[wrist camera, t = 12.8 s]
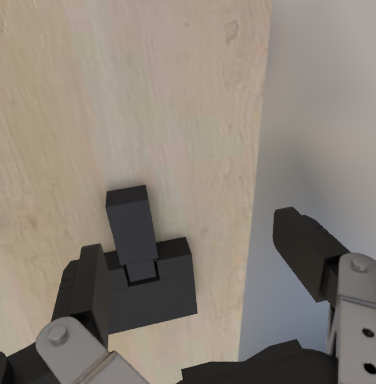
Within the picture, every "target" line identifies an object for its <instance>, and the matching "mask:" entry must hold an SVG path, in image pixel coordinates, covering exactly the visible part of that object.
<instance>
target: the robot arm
mask: <svg viewBox="0 0 376 384" xmlns="http://www.w3.org/2000/svg"><path fill="white" fill-rule="evenodd" d="M273 242H274V245H275V247H276V249H277V251H278V252H279V253H280V255H281V256H282V257H283V259H284V260H285V261H286V263H287V264H288V265H289V267H290V268H291V269H292V271H293V272H294V273H295V274H296V276H297V277H298V279H299V280H300V281H301V282H302V284H303V285H304V287H305V288H306V289H307V291H308V292H309V293H310V294H311V296H312V297H313V298H314V300H315V301H316V303H317V302H321V301H325V300H327V301H328V302H329V303H330V307H329V316H328V332H327V347H326V353H323V352H321V351H317V350H313V349H304V348H302V347H301V346H300V344H299V342H298V341H297V339H295V340H291V341H288V342H284V343H280V344H276V345H272V346H269V347H268V348H266V349H264V350H263V351H261V352H259V353H257V354H256V355H254V356H252V357H251V358H249V359H247V360H246V361H243V362H208V363H204V364H200V365H196V366H192V367H189V368H185V369H181V371H182V377H183V380H181V381H179V382H178V383H176V384H376V261H375V260H374V259H372V258H370V257H368V256H366V255H363V254H360V253H351V252H350V251H349V250H348V249H346V248H345V247H344V246H343V245H342V244H341V243H340V242H339V241H338V240H337V239H336V238H335V237H333V236H332V235H331V234H329V232H328V231H327V230H326V229H325V228H323V226H321V225H320V224H319V223H318V222H317V221H316V220H314V219H312V218H310V217H308V216H306V215H301V214H300V213H299V212H298V211H297V210H296V209H294V208H293V207H287V208H282V209H277V210H275V213H274V224H273ZM109 304H110V275H109V270H108V266H107V263H106V260H105V256H104V253H103V249H102V246H101V244H100V243H99V244H94V245H88V246H83V247H82V248H81V253H80V259H78V260H73V261H70V263H69V264H68V265H67V267H66V268H65V269H64V271H63V275H62V279H61V283H60V287H59V291H58V295H57V299H56V303H55V307H54V311H53V315H52V319H51V322H50V323H49V324H48V325H46V326H45V327H44V328H43V329H42V330H41V332H40V333H39V335H38V337H37V339H36V342H34V343H33V344H31V345H30V346H28V347H26V348H24V349H22V350H20V351H18V352H16V353H14V354H12V355H10V356H8V357H6V356H5V354H4V353H2V352H0V384H149V383H148V382H147V381H146V380H145V379H144V378H143V377H142V376H141V375H140V374H139V373H138V372H137V371H136V370H135V369H134V368H133V367H132V366H131V365H130V364H129V363H128V362H127V361H126V360H125V359H124V358H123V357H122V356H121V355H120V354H119V353H117V352H116V351H112V352H111V353H110V352H109V351H108V328H109Z"/></svg>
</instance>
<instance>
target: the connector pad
mask: <svg viewBox="0 0 376 384" xmlns="http://www.w3.org/2000/svg"><path fill="white" fill-rule="evenodd" d="M106 211H107V215H108V219H109V223H110V227H111V230H112V234H113V238H114V242H115V246H116V250H117V254H118V258H119V261H120V265H125V264H126V267H127V271H128V275H129V279H130V282H133V281H138V280H142V279H147V278H152V277H156V271H155V265H154V258H158V253H157V247H156V242H155V236H154V230H153V224H152V219H151V213H150V207H149V201H148V196H147V190H146V186H139V187H133V188H127V189H121V190H115V191H109V192H107V196H106Z"/></svg>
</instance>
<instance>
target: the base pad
mask: <svg viewBox="0 0 376 384" xmlns="http://www.w3.org/2000/svg"><path fill="white" fill-rule="evenodd" d="M156 247H157V253H158V258H156V260H157V262H154V265H155V271H156V277H152V278H147V279H142V280H138V281H133V282H130V279H129V275H128V271H127V267H126V264H125V265H120V261H119V258H118V254H117V251H114V252H109V253H104V256H105V260H106V263H107V266H108V270H109V275H110V304H109V328H108V335H109V334H114V333H118V332H122V331H126V330H130V329H135V328H139V327H143V326H147V325H151V324H156V323H160V322H164V321H168V320H172V319H177V318H181V317H185V316H189V315H193V314H197V313H198V312H197V303H196V293H195V283H194V274H193V264H192V254H191V251H190V248H189V245H188V242H187V239H186V237H184V238H179V239H174V240H169V241H164V242H158V243H156Z"/></svg>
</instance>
